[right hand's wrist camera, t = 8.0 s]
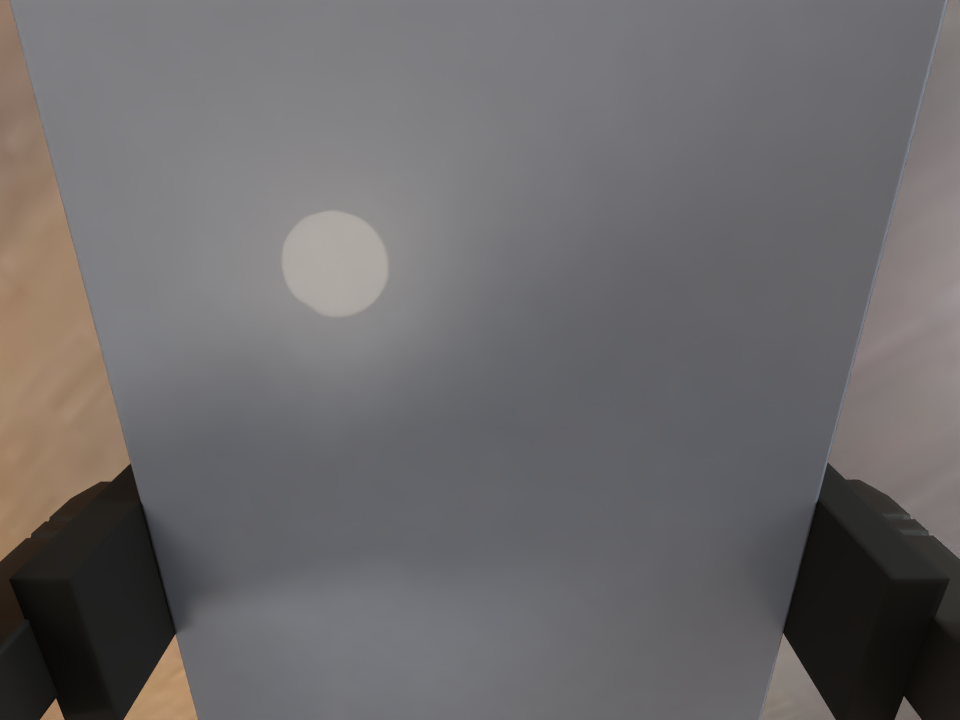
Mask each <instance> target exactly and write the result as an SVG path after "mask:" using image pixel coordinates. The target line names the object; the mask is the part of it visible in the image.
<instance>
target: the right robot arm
mask: <svg viewBox="0 0 960 720" xmlns="http://www.w3.org/2000/svg"><path fill="white" fill-rule="evenodd" d="M783 633H784V635H785V637H786V638H787V640H788V642H789V643H790V645H791V646H792V648H793V650H794V651H795V653H796V655H797V656H798V658H799V660H800V661H801V663H802V665H803V666H804V668H805V670H806V671H807V673H808V674H809V676H810V678H811V679H812V681H813V683H814V684H815V686H816V688H817V689H818V691H819V693H820V694H821V696H822V698H823V699H824V701H825V703H826V704H827V706H828V707H829V709H830V711H831V712H832V714H833V716H834V717H835V719H836V720H894V719H895V717H896V714H897V712H898V709H899V707H900V704H901V702H902V699H903V697H904V696H905V698H906V699H907V700H908V702H909V703H910V704H911V706H912V707H913V708H914V710H915V711H916V712H917V714H918V715H919V716H920V718H921V719H922V720H960V559H959V558H958V557H956V556H955V555H954V554H953V553H952V552H951V551H950V550H949V549H947V548H946V547H945V546H944V545H943V544H942V543H941V542H940V541H938V540H937V539H936V538H935V537H934V536H929V534H928V531H927V530H926V529H925V528H924V527H923V526H922V525H920V524H919V523H918V522H917V521H916V520H915V519H911V518H910V515H909V514H908V513H907V512H906V511H905V510H904V509H902V508H901V507H900V506H899V505H898V504H897V503H896V502H895V501H893V500H892V499H891V498H890V497H889V496H887V495H886V494H884V493H882V492H880V491H878V490H877V489H875V488H873V487H871V486H869V485H868V484H866V483H864V482H862V481H860V480H846V479H844V478H843V477H842V476H841V475H840V474H839V473H838V472H837V471H836V470H835V469H834V468H833V467H832V466H831V465H830V464H829V463H827V466H826V470H825V474H824V478H823V482H822V486H821V489H820V493H819V497H818V501H817V505H816V509H815V512H814V516H813V520H812V524H811V528H810V532H809V535H808V539H807V543H806V547H805V551H804V555H803V558H802V562H801V566H800V570H799V574H798V578H797V581H796V585H795V589H794V593H793V597H792V601H791V604H790V608H789V612H788V616H787V620H786V624H785V627H784V631H783ZM174 635H175V630H174V626H173V622H172V618H171V615H170V611H169V607H168V603H167V599H166V596H165V592H164V588H163V584H162V580H161V576H160V573H159V569H158V565H157V561H156V557H155V554H154V550H153V546H152V542H151V538H150V534H149V531H148V527H147V523H146V519H145V515H144V512H143V508H142V504H141V500H140V496H139V493H138V489H137V485H136V481H135V477H134V473H133V470H132V466H131V464H130V465H129V466H127V467H126V468H125V469H124V470H123V471H122V472H121V473H120V474H119V475H118V476H117V477H116V478H115V479H114V480H113V481H112V482H99V483H98V484H96V485H94V486H92V487H90V488H89V489H87V490H85V491H83V492H81V493H80V494H78V495H76V496H74V497H73V498H71V499H70V500H69V501H68V502H66V503H65V504H64V505H63V506H62V507H61V508H60V509H59V510H58V511H56V512H55V513H54V514H53V515H52V516H51V517H50V520H49V522H44V523H43V524H42V525H41V526H40V527H39V528H37V529H36V530H35V531H34V532H33V533H32V534H31V538H26V539H25V540H24V541H23V542H22V543H21V544H19V545H18V546H17V547H16V548H15V549H14V550H13V551H12V552H11V553H9V554H8V555H7V556H6V557H5V558H4V559H3V560H2V561H0V720H40V719H41V717H42V716H43V715H44V713H45V712H46V711H47V709H48V708H49V707H50V705H51V704H52V703H53V701H54V700H55V699H57V702H58V704H59V707H60V709H61V712H62V714H63V717H64V719H65V720H124V718H125V716H126V715H127V713H128V711H129V710H130V708H131V706H132V705H133V703H134V701H135V700H136V698H137V696H138V695H139V693H140V692H141V690H142V688H143V687H144V685H145V683H146V682H147V680H148V678H149V677H150V675H151V673H152V672H153V670H154V668H155V667H156V665H157V664H158V662H159V660H160V659H161V657H162V655H163V654H164V652H165V650H166V649H167V647H168V645H169V644H170V642H171V640H172V639H173V637H174Z"/></svg>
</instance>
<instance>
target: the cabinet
mask: <svg viewBox="0 0 960 720" xmlns="http://www.w3.org/2000/svg"><path fill="white" fill-rule="evenodd" d="M947 3H948V0H10V4H11V8H12V12H13V16H14V20H15V23H16V27H17V31H18V35H19V39H20V42H21V46H22V50H23V54H24V58H25V61H26V65H27V69H28V73H29V77H30V81H31V84H32V88H33V92H34V96H35V100H36V103H37V107H38V111H39V115H40V119H41V123H42V126H43V130H44V134H45V138H46V142H47V145H48V149H49V153H50V157H51V161H52V164H53V168H54V172H55V176H56V180H57V184H58V187H59V191H60V195H61V199H62V203H63V206H64V210H65V214H66V218H67V222H68V226H69V229H70V233H71V237H72V241H73V245H74V248H75V252H76V256H77V260H78V264H79V267H80V271H81V275H82V279H83V283H84V287H85V290H86V294H87V298H88V302H89V306H90V309H91V313H92V317H93V321H94V325H95V329H96V332H97V336H98V340H99V344H100V348H101V351H102V355H103V359H104V363H105V367H106V370H107V374H108V378H109V382H110V386H111V390H112V393H113V397H114V401H115V405H116V409H117V412H118V416H119V420H120V424H121V428H122V432H123V435H124V439H125V443H126V447H127V451H128V454H129V458H130V462H131V466H132V470H133V473H134V477H135V481H136V485H137V489H138V493H139V496H140V500H141V504H142V508H143V512H144V515H145V519H146V523H147V527H148V531H149V534H150V538H151V542H152V546H153V550H154V554H155V557H156V561H157V565H158V569H159V573H160V576H161V580H162V584H163V588H164V592H165V596H166V599H167V603H168V607H169V611H170V615H171V618H172V622H173V626H174V630H175V634H176V637H177V641H178V645H179V649H180V653H181V657H182V660H183V664H184V668H185V672H186V676H187V679H188V683H189V687H190V691H191V695H192V699H193V702H194V706H195V710H196V714H197V718H198V720H760V719H761V715H762V712H763V708H764V704H765V700H766V696H767V693H768V689H769V685H770V681H771V677H772V673H773V670H774V666H775V662H776V658H777V654H778V650H779V647H780V643H781V639H782V635H783V631H784V627H785V624H786V620H787V616H788V612H789V608H790V604H791V601H792V597H793V593H794V589H795V585H796V581H797V578H798V574H799V570H800V566H801V562H802V558H803V555H804V551H805V547H806V543H807V539H808V535H809V532H810V528H811V524H812V520H813V516H814V512H815V509H816V505H817V501H818V497H819V493H820V489H821V486H822V482H823V478H824V474H825V470H826V466H827V463H828V459H829V455H830V451H831V447H832V443H833V440H834V436H835V432H836V428H837V424H838V420H839V417H840V413H841V409H842V405H843V401H844V397H845V394H846V390H847V386H848V382H849V378H850V375H851V371H852V367H853V363H854V359H855V355H856V352H857V348H858V344H859V340H860V336H861V332H862V329H863V325H864V321H865V317H866V313H867V309H868V306H869V302H870V298H871V294H872V290H873V286H874V283H875V279H876V275H877V271H878V267H879V263H880V260H881V256H882V252H883V248H884V244H885V240H886V237H887V233H888V229H889V225H890V221H891V217H892V214H893V210H894V206H895V202H896V198H897V194H898V191H899V187H900V183H901V179H902V175H903V171H904V168H905V164H906V160H907V156H908V152H909V148H910V145H911V141H912V137H913V133H914V129H915V125H916V122H917V118H918V114H919V110H920V106H921V102H922V99H923V95H924V91H925V87H926V83H927V80H928V76H929V72H930V68H931V64H932V60H933V57H934V53H935V49H936V45H937V41H938V37H939V34H940V30H941V26H942V22H943V18H944V14H945V11H946V7H947Z"/></svg>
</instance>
